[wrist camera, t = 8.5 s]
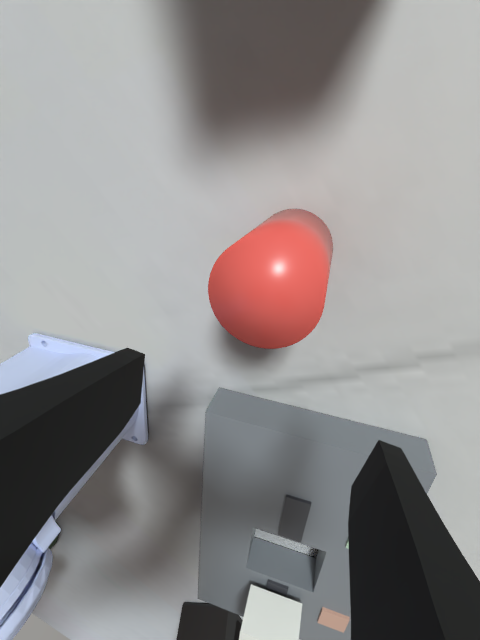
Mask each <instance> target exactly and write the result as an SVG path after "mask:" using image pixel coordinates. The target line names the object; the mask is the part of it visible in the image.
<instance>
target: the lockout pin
mask: <svg viewBox="0 0 480 640" xmlns="http://www.w3.org/2000/svg"><path fill="white" fill-rule="evenodd" d="M332 253H333V242H332V237H331V234H330V231H329V229H328V228H327V226H326V225H325V223H324V222H323V221H322V220H321V219H320V218H319V217H317V216H316V215H315V214H313V213H311V212H309V211H306V210H301V209H287V210H283V211H280V212H278V213H276V214H274V215H273V216H271V217H270V218H268V219H267V220H266V221H264V222H263V223H262V224H260V225H259V226H257V227H256V228H255V229H253V230H252V231H251V232H249V233H248V234H247V235H245V236H244V237H242V238H241V239H240V240H238V241H237V242H236V243H234V244H233V245H232V246H230V247H229V248H227V249H226V250H225V251H224V252H223V253H222V254H221V255H220V257H219V258H218V259H217V261H216V262H215V264H214V266H213V268H212V271H211V273H210V278H209V284H208V294H209V300H210V304H211V307H212V310H213V312H214V314H215V316H216V318H217V319H218V321H219V322H220V324H221V325H222V326H223V327H224V328H225V329H226V330H227V331H228V332H229V333H230V334H231V335H232V336H234V337H235V338H237V339H238V340H240V341H242V342H244V343H246V344H249V345H251V346H255V347H259V348H268V349H274V348H282V347H287V346H290V345H293V344H295V343H297V342H299V341H300V340H302V339H303V338H305V337H306V336H307V335H308V334H309V333H310V332H311V331H312V330H313V329H314V328H315V326H316V325H317V323H318V322H319V320H320V317H321V315H322V312H323V309H324V303H325V297H326V291H327V284H328V278H329V272H330V265H331V259H332Z"/></svg>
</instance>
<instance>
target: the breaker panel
mask: <svg viewBox="0 0 480 640" xmlns="http://www.w3.org/2000/svg"><path fill="white" fill-rule="evenodd" d="M378 440H381V441H383V442H386V443H389V444H392V445H394V446H397V447H400V448H401V449H402V450H403V452H404V454H405V456H406V457H407V459H408V461H409V463H410V465H411V467H412V468H413V470H414V472H415V474H416V476H417V477H418V479H419V481H420V483H421V485H422V487H423V488H424V490H425V492H426V494H427V493H428V491H429V489H430V487H431V485H432V483H433V481H434V479H435V477H436V475H437V473H436V470H435V466H434V463H433V459H432V456H431V452H430V449H429V445H428V442H427V440H426V439H422V438H418V437H414V436H410V435H406V434H402V433H398V432H394V431H390V430H386V429H382V428H378V427H374V426H370V425H366V424H362V423H358V422H354V421H350V420H346V419H342V418H338V417H334V416H330V415H326V414H322V413H318V412H314V411H310V410H306V409H302V408H298V407H294V406H290V405H286V404H282V403H278V402H274V401H270V400H266V399H262V398H258V397H254V396H250V395H246V394H242V393H238V392H234V391H230V390H226V389H222V388H219V389H218V391H217V393H216V394H215V396H214V398H213V400H212V401H211V403H210V405H209V407H208V408H207V410H206V415H205V438H204V461H203V485H202V508H201V532H200V555H199V578H198V599H200V600H203V601H205V602H208V603H210V604H213V605H215V606H218V607H220V608H223V609H225V610H228V611H230V612H233V613H235V614H238V615H240V616H243V617H244V613H245V608H246V604H247V599H248V595H249V591H250V586H251V585H254V586H257V587H259V588H262V589H265V590H267V591H270V592H273V593H275V594H278V595H281V596H283V597H286V598H289V599H291V600H294V601H297V602H299V603H302V612H301V622H300V632H299V639H300V640H351V606H350V575H349V542H348V518H349V505H350V496H351V486H352V484H353V483H354V481H355V479H356V477H357V476H358V474H359V472H360V471H361V469H362V467H363V466H364V464H365V462H366V460H367V459H368V457H369V455H370V454H371V452H372V450H373V449H374V447H375V445H376V443H377V442H378ZM255 528H257V529H260V530H262V531H265V532H268V533H271V534H274V535H277V536H280V537H283V538H286V539H289V540H292V541H295V542H298V543H301V544H304V545H307V546H310V547H313V548H316V549H319V550H318V553H317V556H316V558H314V557H311V556H308V555H305V554H303V553H300V552H297V551H294V550H291V549H288V548H285V547H282V546H279V545H276V544H273V543H271V542H268V541H265V540H262V539H259V538H256V537H254V534H255Z"/></svg>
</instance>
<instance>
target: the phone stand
mask: <svg viewBox="0 0 480 640" xmlns="http://www.w3.org/2000/svg"><path fill="white" fill-rule="evenodd" d="M242 621H243V620H242V619H241V618H240V616H239V615H238V614H235V613H233V612H230V611H228V610H225V609H223V608H220V607H218V606H215V605H213V604H206V603H184V604H183V607H182V612H181V618H180V623H179V629H178V635H177V640H239V636H240V630H241V626H242Z"/></svg>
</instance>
